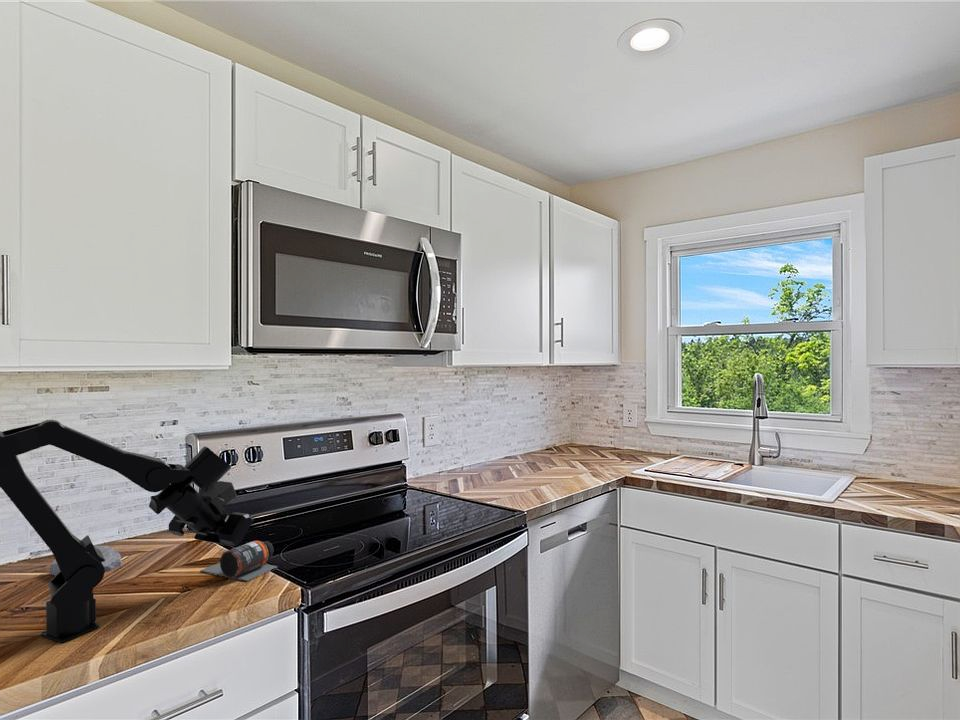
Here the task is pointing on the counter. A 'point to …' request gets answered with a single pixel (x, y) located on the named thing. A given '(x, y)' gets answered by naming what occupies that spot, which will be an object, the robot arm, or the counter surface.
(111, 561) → the stone block
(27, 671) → the counter surface
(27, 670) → the counter surface
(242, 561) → the supplement bottle
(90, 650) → the counter surface
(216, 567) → the pad
